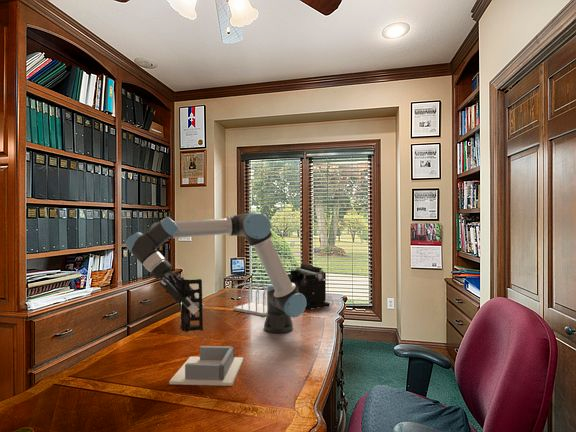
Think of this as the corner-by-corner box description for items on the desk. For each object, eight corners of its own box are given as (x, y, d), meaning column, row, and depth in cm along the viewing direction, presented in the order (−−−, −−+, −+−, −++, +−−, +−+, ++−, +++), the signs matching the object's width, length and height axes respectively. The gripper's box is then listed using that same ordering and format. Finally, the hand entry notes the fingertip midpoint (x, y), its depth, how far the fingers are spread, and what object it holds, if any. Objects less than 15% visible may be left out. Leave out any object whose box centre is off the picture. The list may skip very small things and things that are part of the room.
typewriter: (272, 301, 223) (272, 265, 223) (304, 296, 236) (304, 263, 236) (293, 312, 195) (293, 271, 196) (329, 306, 208) (329, 268, 209)
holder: (209, 328, 124) (208, 277, 124) (197, 334, 117) (196, 280, 117) (185, 325, 128) (184, 276, 128) (172, 331, 121) (172, 279, 121)
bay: (243, 359, 128) (243, 345, 128) (232, 385, 108) (232, 368, 108) (190, 358, 129) (190, 344, 129) (169, 384, 109) (169, 366, 109)
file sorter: (281, 310, 200) (281, 285, 200) (264, 317, 186) (264, 290, 186) (251, 304, 214) (251, 281, 214) (233, 310, 200) (233, 285, 200)
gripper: (162, 269, 132) (200, 309, 131) (139, 277, 114) (182, 324, 112) (175, 256, 132) (213, 297, 131) (153, 262, 113) (197, 309, 112)
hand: (199, 309), depth 121 cm, fingers closed on holder, 5 cm apart
